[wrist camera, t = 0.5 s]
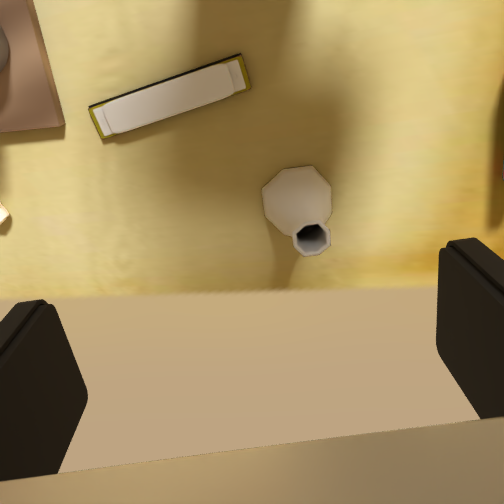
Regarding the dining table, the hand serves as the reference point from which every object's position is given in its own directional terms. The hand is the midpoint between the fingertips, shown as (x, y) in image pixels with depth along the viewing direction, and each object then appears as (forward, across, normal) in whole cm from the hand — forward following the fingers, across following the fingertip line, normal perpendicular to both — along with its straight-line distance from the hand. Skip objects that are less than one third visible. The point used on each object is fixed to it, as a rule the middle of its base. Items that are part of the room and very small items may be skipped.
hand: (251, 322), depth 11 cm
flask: (+34, -4, +9) cm, 36 cm away
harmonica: (+35, +6, -3) cm, 35 cm away
